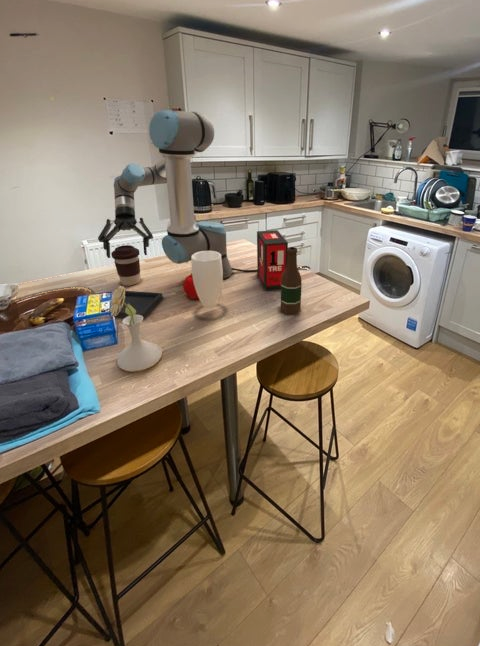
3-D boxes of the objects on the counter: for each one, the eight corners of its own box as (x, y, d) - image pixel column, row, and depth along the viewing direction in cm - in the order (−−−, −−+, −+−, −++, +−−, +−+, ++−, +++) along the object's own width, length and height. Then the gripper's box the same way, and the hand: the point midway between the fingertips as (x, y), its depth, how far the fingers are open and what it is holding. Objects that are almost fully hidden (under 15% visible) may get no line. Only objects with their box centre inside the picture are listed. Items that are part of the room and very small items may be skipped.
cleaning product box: (286, 288, 138) (287, 242, 130) (265, 290, 135) (265, 244, 127) (276, 272, 152) (277, 230, 144) (257, 274, 150) (256, 231, 141)
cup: (199, 322, 112) (193, 263, 104) (192, 308, 121) (186, 252, 112) (229, 315, 117) (226, 258, 108) (221, 302, 125) (217, 248, 117)
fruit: (185, 291, 132) (182, 267, 128) (208, 289, 134) (206, 266, 130) (182, 302, 124) (179, 278, 120) (207, 300, 126) (205, 276, 122)
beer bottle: (303, 306, 125) (306, 246, 115) (296, 317, 118) (299, 253, 108) (284, 302, 127) (285, 243, 117) (276, 312, 120) (277, 250, 110)
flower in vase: (123, 351, 97) (106, 273, 87) (165, 346, 100) (153, 270, 90) (111, 382, 86) (90, 296, 76) (158, 376, 88) (144, 293, 78)
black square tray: (163, 298, 126) (162, 292, 125) (144, 319, 113) (143, 313, 112) (124, 295, 127) (123, 290, 126) (100, 316, 113) (99, 310, 112)
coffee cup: (148, 278, 142) (143, 244, 136) (135, 288, 133) (129, 253, 127) (126, 276, 142) (120, 242, 136) (112, 286, 133) (104, 251, 127)
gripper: (157, 213, 150) (161, 256, 143) (94, 215, 142) (94, 261, 135) (155, 204, 143) (159, 248, 136) (88, 206, 135) (89, 254, 128)
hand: (127, 255), depth 136 cm, fingers open, 13 cm apart
